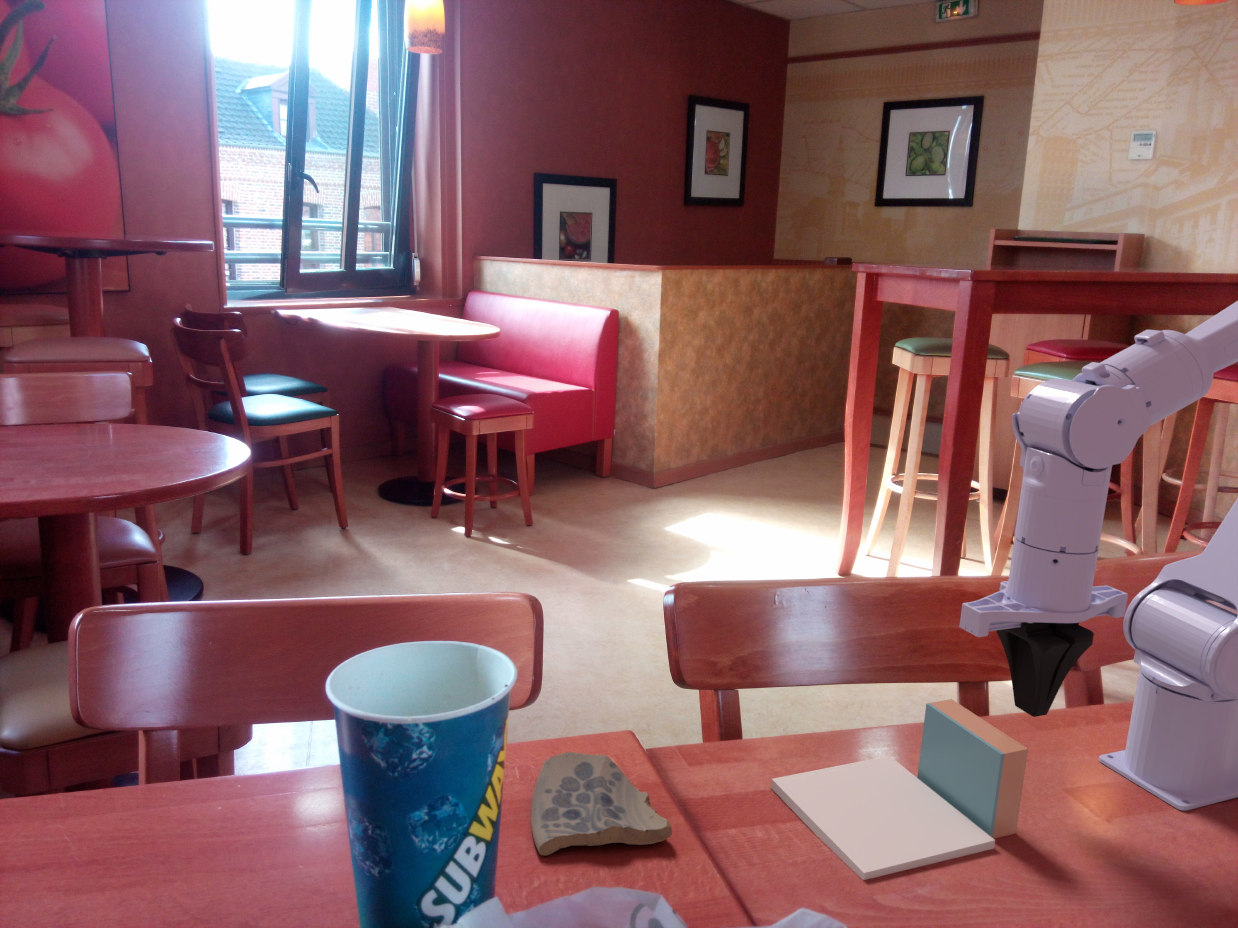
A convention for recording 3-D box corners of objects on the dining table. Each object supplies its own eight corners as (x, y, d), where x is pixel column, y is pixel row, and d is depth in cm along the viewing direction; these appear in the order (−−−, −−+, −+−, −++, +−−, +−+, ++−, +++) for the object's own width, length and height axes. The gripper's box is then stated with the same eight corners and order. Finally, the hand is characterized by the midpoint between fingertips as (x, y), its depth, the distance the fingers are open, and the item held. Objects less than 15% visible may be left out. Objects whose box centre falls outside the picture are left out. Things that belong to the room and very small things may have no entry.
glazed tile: (941, 777, 75) (951, 698, 74) (1015, 834, 68) (1028, 748, 67) (916, 782, 74) (926, 703, 73) (988, 841, 67) (1001, 754, 66)
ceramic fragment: (675, 842, 63) (531, 820, 62) (667, 880, 64) (524, 859, 63) (666, 753, 73) (542, 734, 73) (659, 787, 74) (536, 769, 74)
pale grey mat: (888, 764, 77) (889, 755, 77) (993, 849, 66) (995, 839, 66) (770, 787, 73) (771, 778, 73) (862, 883, 62) (863, 872, 62)
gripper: (1084, 521, 75) (1060, 675, 78) (941, 533, 70) (920, 699, 73) (1162, 547, 69) (1132, 714, 72) (1011, 563, 63) (985, 743, 66)
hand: (1030, 709), depth 72 cm, fingers closed
